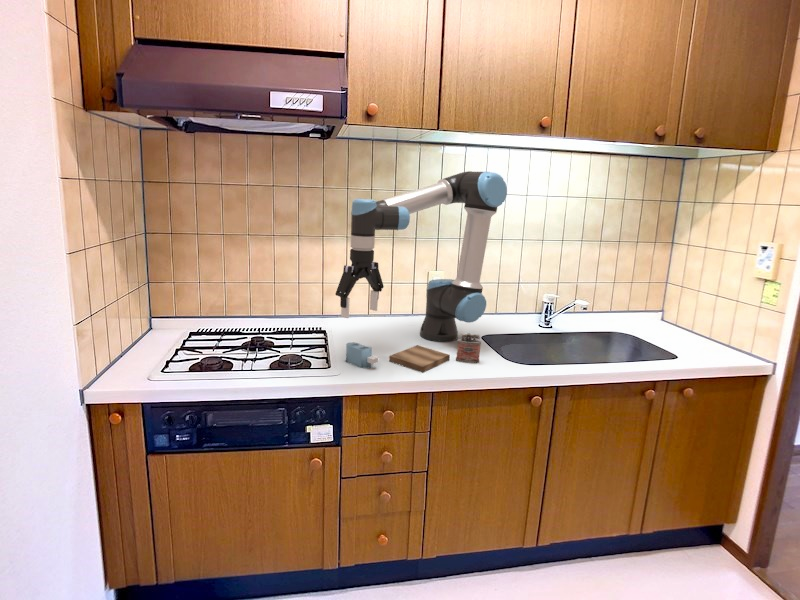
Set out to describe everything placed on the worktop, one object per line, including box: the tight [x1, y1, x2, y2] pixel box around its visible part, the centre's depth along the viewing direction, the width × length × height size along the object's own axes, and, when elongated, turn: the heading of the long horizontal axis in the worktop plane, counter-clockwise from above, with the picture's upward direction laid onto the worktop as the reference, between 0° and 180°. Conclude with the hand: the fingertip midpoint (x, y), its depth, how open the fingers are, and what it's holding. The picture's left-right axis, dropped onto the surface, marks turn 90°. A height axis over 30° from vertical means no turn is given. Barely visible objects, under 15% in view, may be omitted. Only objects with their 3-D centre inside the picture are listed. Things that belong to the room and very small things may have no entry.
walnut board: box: [389, 344, 451, 373], centre depth 172 cm, size 16×14×2 cm
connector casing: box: [345, 342, 379, 369], centre depth 165 cm, size 4×12×6 cm, turn 52°
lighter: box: [455, 332, 482, 364], centre depth 173 cm, size 8×3×10 cm, turn 82°
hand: (359, 313), depth 162 cm, fingers open, 13 cm apart
